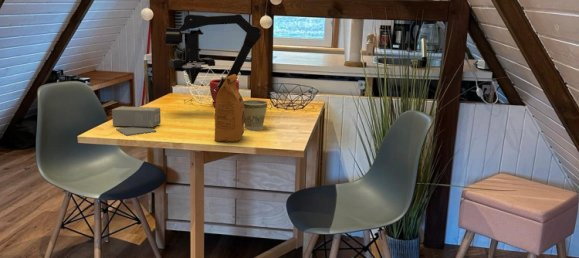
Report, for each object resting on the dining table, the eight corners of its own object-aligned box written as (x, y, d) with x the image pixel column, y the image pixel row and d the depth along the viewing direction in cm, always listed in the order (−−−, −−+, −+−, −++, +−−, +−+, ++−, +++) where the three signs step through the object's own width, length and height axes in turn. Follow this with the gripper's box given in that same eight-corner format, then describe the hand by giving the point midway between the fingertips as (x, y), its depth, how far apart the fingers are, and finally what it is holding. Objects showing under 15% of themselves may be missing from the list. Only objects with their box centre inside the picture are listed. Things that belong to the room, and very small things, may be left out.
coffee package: (248, 135, 185) (249, 74, 180) (238, 144, 173) (239, 78, 168) (221, 133, 187) (221, 72, 182) (210, 142, 175) (210, 77, 170)
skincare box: (152, 110, 188) (111, 107, 190) (152, 129, 190) (111, 126, 191) (161, 106, 196) (121, 104, 198) (161, 125, 198) (121, 122, 199)
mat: (145, 126, 194) (145, 125, 194) (156, 132, 186) (156, 130, 186) (116, 129, 187) (116, 128, 187) (126, 135, 180) (126, 134, 179)
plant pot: (231, 103, 246) (231, 77, 243) (243, 108, 235) (243, 81, 232) (205, 104, 239) (205, 78, 236) (216, 110, 228) (216, 83, 225)
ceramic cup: (256, 132, 190) (257, 105, 188) (235, 128, 195) (235, 102, 193) (276, 126, 201) (276, 100, 199) (255, 122, 206) (255, 97, 204)
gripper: (202, 43, 222) (203, 80, 225) (161, 44, 210) (162, 82, 214) (215, 45, 213) (215, 83, 217) (173, 46, 202) (174, 86, 206)
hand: (192, 83), depth 214 cm, fingers closed
